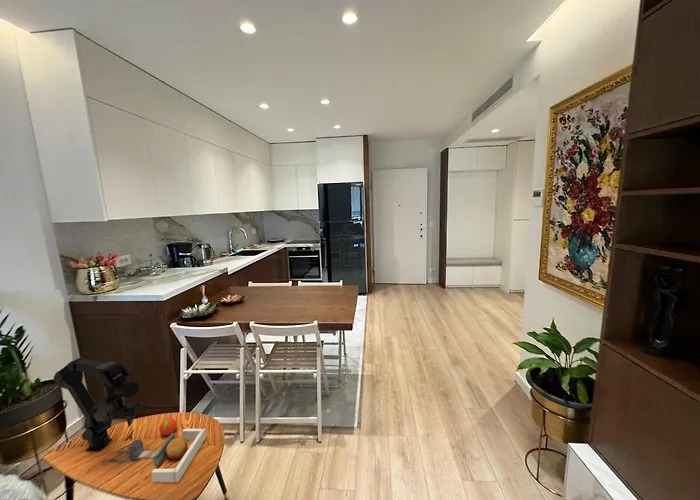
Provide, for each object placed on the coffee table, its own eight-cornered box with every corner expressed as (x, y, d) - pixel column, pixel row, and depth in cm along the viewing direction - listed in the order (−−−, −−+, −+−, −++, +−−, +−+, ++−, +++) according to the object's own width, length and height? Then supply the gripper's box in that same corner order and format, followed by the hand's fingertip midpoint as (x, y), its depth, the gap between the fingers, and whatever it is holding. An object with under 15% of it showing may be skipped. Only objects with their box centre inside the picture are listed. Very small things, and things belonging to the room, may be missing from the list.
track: (108, 462, 121) (108, 461, 121) (119, 451, 127) (119, 449, 126) (139, 462, 121) (139, 460, 121) (149, 450, 126) (148, 449, 126)
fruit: (193, 440, 130) (187, 433, 125) (187, 461, 124) (180, 455, 119) (174, 441, 129) (168, 434, 124) (167, 462, 123) (160, 456, 118)
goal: (152, 482, 112) (151, 472, 111) (185, 437, 133) (184, 428, 133) (178, 482, 112) (176, 472, 111) (206, 437, 133) (205, 428, 133)
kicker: (121, 468, 118) (119, 455, 117) (142, 444, 130) (140, 432, 129) (158, 468, 118) (156, 454, 117) (175, 444, 129) (174, 432, 129)
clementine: (175, 437, 133) (173, 424, 132) (157, 442, 131) (155, 428, 130) (178, 425, 141) (177, 412, 140) (162, 429, 138) (160, 416, 137)
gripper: (74, 406, 115) (80, 441, 117) (121, 405, 115) (126, 440, 117) (98, 388, 126) (103, 421, 128) (141, 388, 126) (145, 420, 128)
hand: (119, 426), depth 125 cm, fingers open, 9 cm apart
